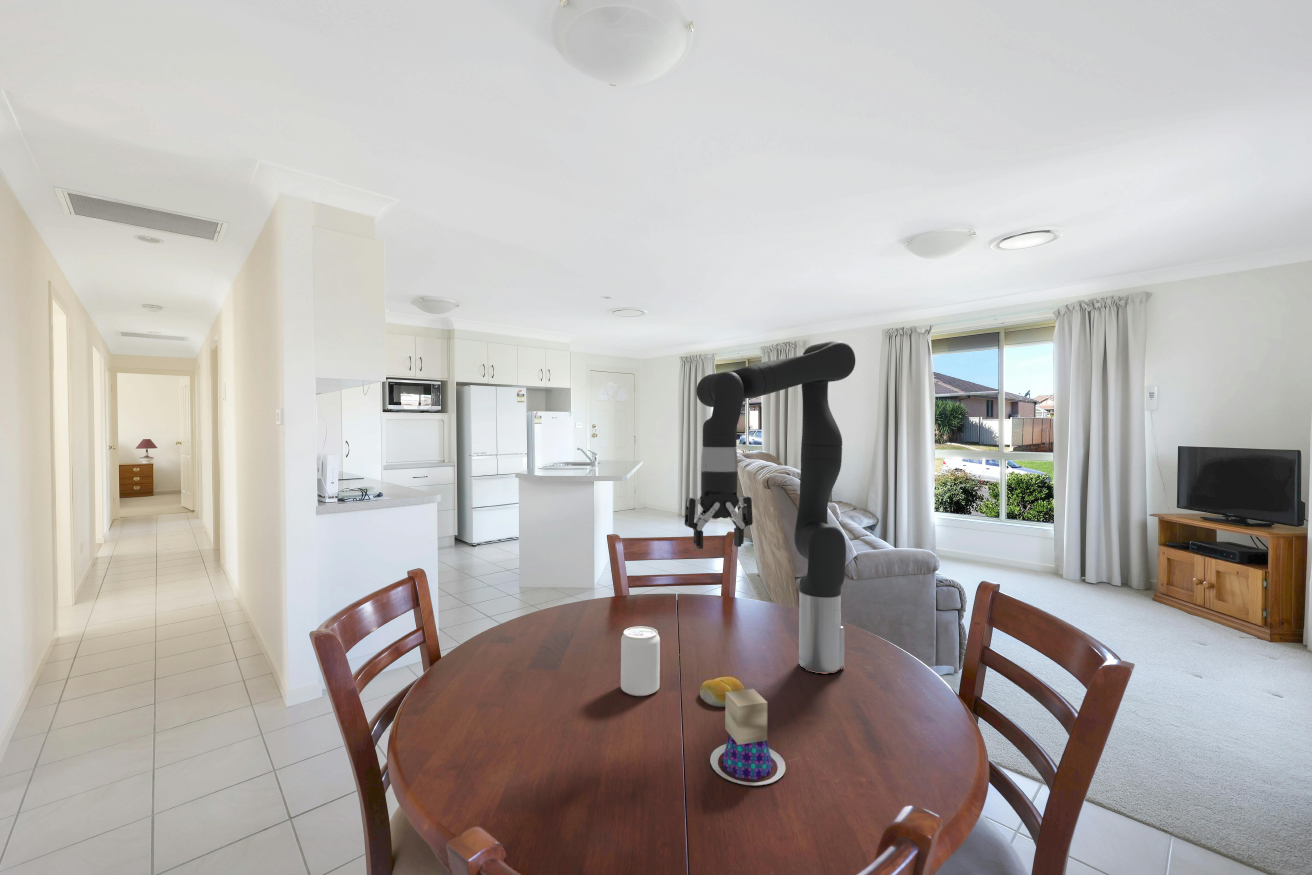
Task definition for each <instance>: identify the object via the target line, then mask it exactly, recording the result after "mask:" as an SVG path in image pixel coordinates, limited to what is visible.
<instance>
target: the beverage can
mask: <svg viewBox="0 0 1312 875" xmlns="http://www.w3.org/2000/svg"><path fill="white" fill-rule="evenodd" d="M660 647H661V638H660V636H659V632H658V630H657V629H655V628H654V627H650V626H644V625H643V626H642V625H641V626H638V625H637V626H630V627H628V628H626V629H624V630H623V633H622V636H621V638H620V689H621V690H622V691H623V692H624V693H626V694H628V695H630V696H636V697H645V696H649V695H651V694H654V693H656V692H658V690H659V689H660V677H661V676H660V667H661V664H660V663H661V662H660V661H661V660H660V655H661V653H660V651H661V650H660V649H661V648H660Z"/></svg>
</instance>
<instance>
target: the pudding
mask: <svg viewBox="0 0 1312 875" xmlns="http://www.w3.org/2000/svg"><path fill="white" fill-rule="evenodd" d="M721 755H723V757H722V762H723V766H722V767H723V769H724V770H725V771H726V772H730V773H731V774H732V775H733V776H734V777H736V778H739V779H749V780H755V782H751V781H750V782H749V781H748V782H747V781H742V780H738V779H735V778H733V777H731V776H729V775H728V774H726V773H725V772H724V771H722V769H721V768H720V766H719V758H720V756H721ZM772 759H773V760H774V761H775V763H776V766H777V771H776V773H775V775H774V776H772V777H771V778H769V779H766V780H763V781H758V782H756V780H759V779H761V778H762V777H767V776H771V773H772V770H771V769H772V768H774V764H773V760H772ZM709 762H710V765H711V767H712V769H713V770H714V771H715V773H717V774H718V775H719V776H720V777H722V778H723V779H726V780H728V781H730V782H732V783H737V784H740V785H745V786H762V785H768V784H773V783H774V782H776V781H778V780H779V779H781V777H782V776H783V775H784V774H785V772H786V762H785V760H784V759H783V758H782V756H781V755H780V754H779V753H778V752H776V751H774V750H773V749H772V748H770V747H769V742H768V739H767V740H766V741H760V742H753V743H747V744H741V745H738V744H737V743H736V742H735V740H734V739H733V738H732V737H731V735H730V734H729V733H728V737H727V741H726V743H725V744H722V745H720V746H717V748H715V749H714V750H713V751H712V752H711V755H710V761H709Z"/></svg>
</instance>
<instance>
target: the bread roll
mask: <svg viewBox="0 0 1312 875" xmlns="http://www.w3.org/2000/svg"><path fill="white" fill-rule="evenodd" d="M739 690H746V689H745V687H744V685H743V684H742V683H741V681H740V680H738V679H737V678H735V677H732V676H723V677H722V676H720V677H717V678H715V679H707V680H704V681H703V682H702V685H701V686H700V689H699V695H700V698H701V699H702V701H704V702H705V703H706V704H708V705H711V706H713V707H720V708H721V707H722V708H723V707H725V705H726V692H731V691H739Z"/></svg>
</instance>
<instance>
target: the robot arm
mask: <svg viewBox="0 0 1312 875" xmlns="http://www.w3.org/2000/svg"><path fill="white" fill-rule="evenodd" d="M855 367H856V355H855V352H854V349H853V348H852V347H851V346H850V345H849V344H848V343H847V342H844V341H839V340H832V341H827V342H821V343H816V344H812V345H809V346H808V347H806V349H805V350H804V351H803V352H802V355H798V356H797V355H796V356H792V357H786V358H785V357H784V358H779V359H772V360H767V361H761V362H758V363H754V364H749V365H747V366H744V367H741V368H738V369H734V370H727V371H721V372H716V373H712V374H711V373H709V374H707V375H705V376H703V377H702V378H701V379H700V380H699V382H698V383H697V385H696V392H695V393H696V396H697V397H696V398H697V399H698V400H699V402H701V404H702V405H704V406H706V407H709V408H712V413H711V416H710V417H709V418H708V419H707V420H705V421H704V422H703V425H702V449H701V457H700V460H701V462H700V465H701V466H700V493H701V494H700V497H699V498H697V497H696V498H695V497H690V496H687V498H686V500H685V509H684V510H685V512H684V526H686V527H688V528H690V529H692V530H693V545H694V546H695V547H696V549H698V550H703V549H704V531H703V529H704V527H705V526H706V524H707V523H708V522H710V520H711V519H714V520H715V519H720V518H722V519H729V520H730V521H731V523H732V524H733V525H734V526H735V527H734V528H733V545H734V547H737V548H741V547H742V545H743V544H744V540H745V538H744V537H745V528H747V527H748V526H752V525H753V523H754V521H753V502H752V497H750V496H747V495H743V496H741V497H738V480H739V479H738V469H739V461H738V458H739V457H738V451H737V444H738V443H737V440H738V439H737V437H738V436H737V433H738V432H737V427H738V424H739V423H738V422H739V421H740V420H739V419H740V416H741V413H742V412H741V411H742V409H743V403H744V400H745V399H754V398H760V397H762V396H765V395H769V394H770V395H771V394H774V393H777V392H780V391H783V390H786V389H790V388H793V387H796V386H800V385H801V394H802V396H801V398H802V424H801V425H802V426H801V428H802V429H801V430H802V431H801V443H800V444H801V446H800V477H799V478H800V479H799V498H798V499H799V500H798V510H797V514H796V522H795V529H794V536H793V537H794V539H793V540H794V545H795V548H796V551H797V552H798V554H799V555H801V556H802V557H803V558H805V559H806V560H807V571H806V572H807V573H806V575H805V576H802V577H801V578H800V579H799V590H798V591H799V592H798V594H799V597H798V598H799V600H798V601H799V604H798V605H799V606H798V607H799V609H798V610H799V612H798V613H799V614H798V615H799V616H798V619H799V620H798V622H799V623H798V632H799V633H798V665H799V664H800V665H799V667H800V666H801V667H803V668H805V669H807V670H811V671H815V672H831V671H835V670H837V669H839V668H840V667H841V666H844V667H845V627H844V626H843V625H841V624H842V623H841V622H842V620H841V618H842V617H841V613H842V610H841V609H842V605H841V604H842V602H841V601H842V599H841V598H842V587H843V584H844V582H845V576H846V561H847V560H846V559H847V544H846V539H845V536H844V533H843V532H842V531H841V529H839V528H838V527H836V526H835V525H831V524H828V511H829V510H828V506H829V501H830V500H829V499H830V496H831V493H832V491H833V488H834V486H835V484H836V482H837V480H838V477H839V475H840V472H841V468H842V461H843V457H842V456H843V437H842V433H841V431H840V428H839V426H838V424H837V421H836V420H835V418H834V416H833V414H832V411H831V409H830V405H829V393H828V392H829V391H828V390H829V383H830V382H839V381H842V380H844V379H846V378H848V377H849V376H850V375H851V374H852V372H853V371H854V370H855ZM738 505H739V506H740V507H741V515H742V516H740V515H739V513H738V512H737V511H736V508H737V506H738ZM699 506H700V507H701V508H702V510H701V511H700V513H699V514H698V515H697V519H695V514H696V509H698V507H699ZM741 517H742V518H741ZM801 667H800V668H801ZM803 668H802V669H803ZM807 670H806V671H807Z"/></svg>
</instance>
